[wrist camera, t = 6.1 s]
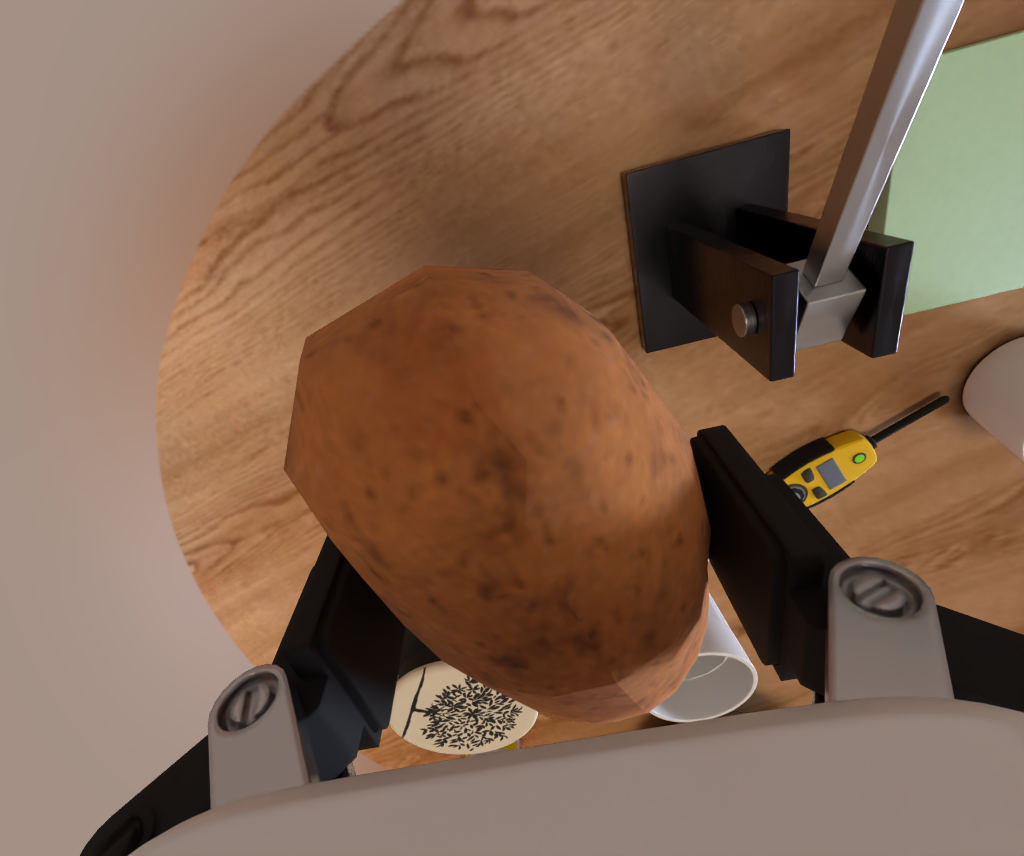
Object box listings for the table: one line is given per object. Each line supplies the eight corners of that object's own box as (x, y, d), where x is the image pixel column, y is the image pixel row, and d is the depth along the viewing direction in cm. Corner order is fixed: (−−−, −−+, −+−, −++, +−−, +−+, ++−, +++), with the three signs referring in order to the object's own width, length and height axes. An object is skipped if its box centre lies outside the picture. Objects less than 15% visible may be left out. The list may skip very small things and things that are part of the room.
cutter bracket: (620, 172, 28) (713, 194, 16) (779, 129, 28) (998, 117, 16) (641, 347, 34) (723, 458, 22) (775, 315, 33) (935, 412, 21)
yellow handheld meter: (752, 496, 38) (952, 380, 34) (742, 481, 40) (930, 369, 35) (779, 531, 40) (971, 426, 36) (768, 515, 42) (950, 413, 37)
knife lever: (837, -137, 11) (900, -118, 10) (1080, -214, 10) (1183, -207, 9) (733, 322, 22) (755, 361, 21) (847, 295, 22) (877, 332, 21)
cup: (709, 567, 45) (775, 695, 34) (632, 604, 47) (672, 735, 36) (670, 512, 41) (730, 636, 31) (589, 554, 43) (619, 683, 33)
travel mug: (540, 468, 39) (573, 687, 23) (499, 538, 42) (503, 770, 26) (445, 432, 37) (410, 645, 21) (410, 509, 40) (358, 741, 25)
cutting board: (885, 68, 26) (905, 64, 25) (1214, -25, 25) (1254, -34, 24) (857, 316, 33) (872, 323, 32) (1113, 255, 32) (1139, 259, 30)
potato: (554, 158, 10) (760, 213, 4) (678, 536, 17) (822, 754, 11) (255, 310, 11) (73, 547, 5) (494, 618, 18) (540, 867, 12)
